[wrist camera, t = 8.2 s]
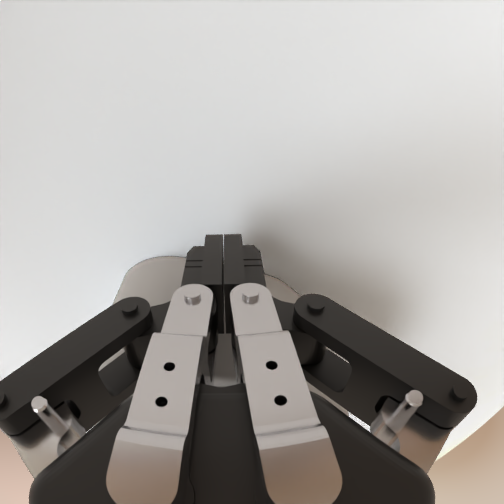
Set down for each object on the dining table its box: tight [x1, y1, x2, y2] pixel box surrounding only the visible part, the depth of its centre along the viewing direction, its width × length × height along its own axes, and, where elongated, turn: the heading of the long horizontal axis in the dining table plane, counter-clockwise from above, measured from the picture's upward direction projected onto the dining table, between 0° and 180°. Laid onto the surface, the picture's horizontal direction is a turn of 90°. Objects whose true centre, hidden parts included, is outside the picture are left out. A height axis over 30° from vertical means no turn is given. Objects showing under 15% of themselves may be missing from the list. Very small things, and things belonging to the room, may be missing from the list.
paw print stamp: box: [98, 256, 349, 423], centre depth 15 cm, size 10×13×9 cm
